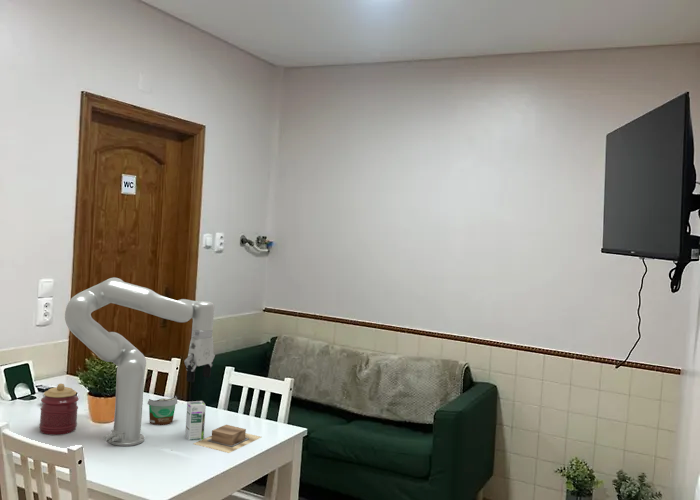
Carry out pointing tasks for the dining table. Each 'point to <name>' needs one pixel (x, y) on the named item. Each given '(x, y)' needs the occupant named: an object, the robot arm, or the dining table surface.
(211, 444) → the build plate
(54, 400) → the canister
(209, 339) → the robot arm
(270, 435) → the dining table surface
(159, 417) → the food container
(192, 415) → the syrup box
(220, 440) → the base block
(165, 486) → the dining table surface
